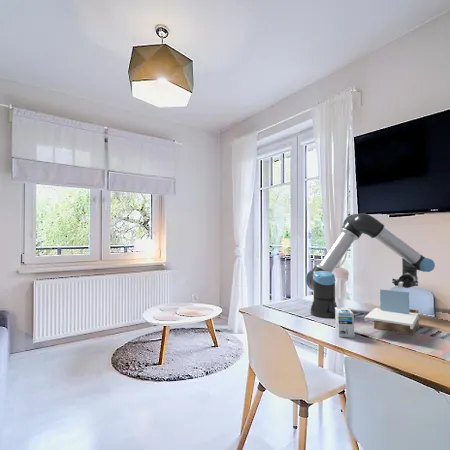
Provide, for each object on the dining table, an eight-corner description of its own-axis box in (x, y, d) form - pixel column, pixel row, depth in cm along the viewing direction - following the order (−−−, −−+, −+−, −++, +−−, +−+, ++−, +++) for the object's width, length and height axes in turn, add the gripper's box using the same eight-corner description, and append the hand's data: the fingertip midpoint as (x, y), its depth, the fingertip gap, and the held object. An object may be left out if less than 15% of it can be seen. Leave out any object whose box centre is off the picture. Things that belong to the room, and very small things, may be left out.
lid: (364, 321, 138) (364, 294, 138) (375, 311, 154) (374, 287, 154) (412, 329, 126) (411, 299, 127) (418, 317, 143) (417, 291, 143)
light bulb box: (354, 338, 134) (354, 313, 134) (338, 337, 135) (338, 312, 135) (349, 330, 144) (349, 307, 144) (334, 329, 145) (334, 306, 146)
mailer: (374, 328, 147) (373, 313, 147) (382, 319, 162) (382, 305, 163) (413, 335, 137) (412, 319, 137) (418, 324, 153) (418, 310, 153)
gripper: (394, 273, 182) (386, 277, 164) (420, 275, 174) (414, 279, 156) (394, 285, 182) (386, 291, 164) (420, 288, 174) (414, 294, 156)
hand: (400, 285), depth 160 cm, fingers closed
